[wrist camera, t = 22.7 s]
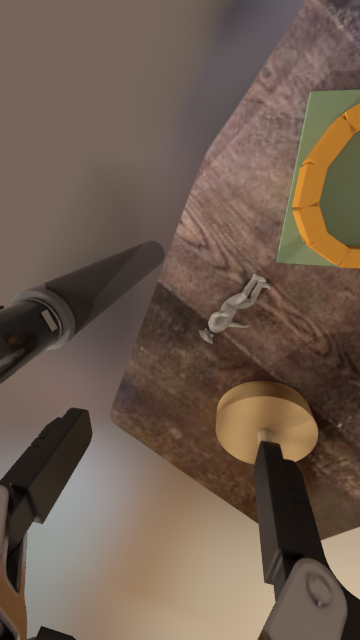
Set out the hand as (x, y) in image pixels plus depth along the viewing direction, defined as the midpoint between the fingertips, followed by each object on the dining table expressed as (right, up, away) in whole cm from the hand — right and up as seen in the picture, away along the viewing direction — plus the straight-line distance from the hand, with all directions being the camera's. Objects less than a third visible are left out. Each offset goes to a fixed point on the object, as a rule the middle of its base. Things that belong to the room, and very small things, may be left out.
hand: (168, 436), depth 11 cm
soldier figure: (+9, +8, +26) cm, 29 cm away
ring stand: (+16, -13, +34) cm, 40 cm away
